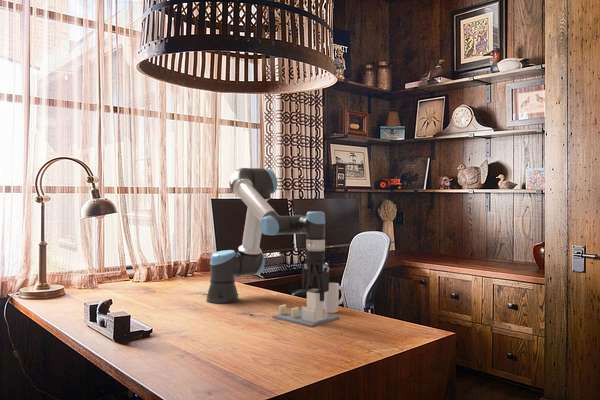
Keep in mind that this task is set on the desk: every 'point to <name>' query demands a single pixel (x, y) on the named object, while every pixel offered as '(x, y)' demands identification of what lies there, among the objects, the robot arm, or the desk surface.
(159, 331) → the desk surface
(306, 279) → the robot arm
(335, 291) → the mug
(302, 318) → the board
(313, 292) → the block
